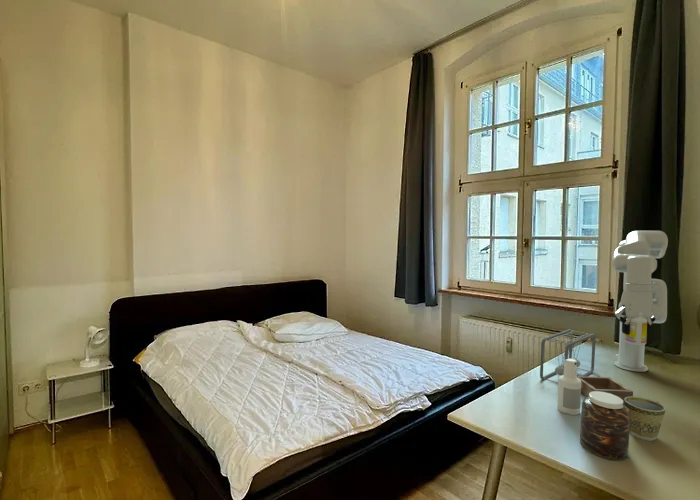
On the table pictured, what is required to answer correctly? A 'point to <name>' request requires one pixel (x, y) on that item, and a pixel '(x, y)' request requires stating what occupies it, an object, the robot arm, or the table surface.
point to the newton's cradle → (560, 368)
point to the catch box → (603, 386)
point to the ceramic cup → (644, 417)
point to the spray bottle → (569, 389)
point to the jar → (605, 426)
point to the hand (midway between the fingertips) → (635, 333)
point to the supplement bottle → (637, 331)
